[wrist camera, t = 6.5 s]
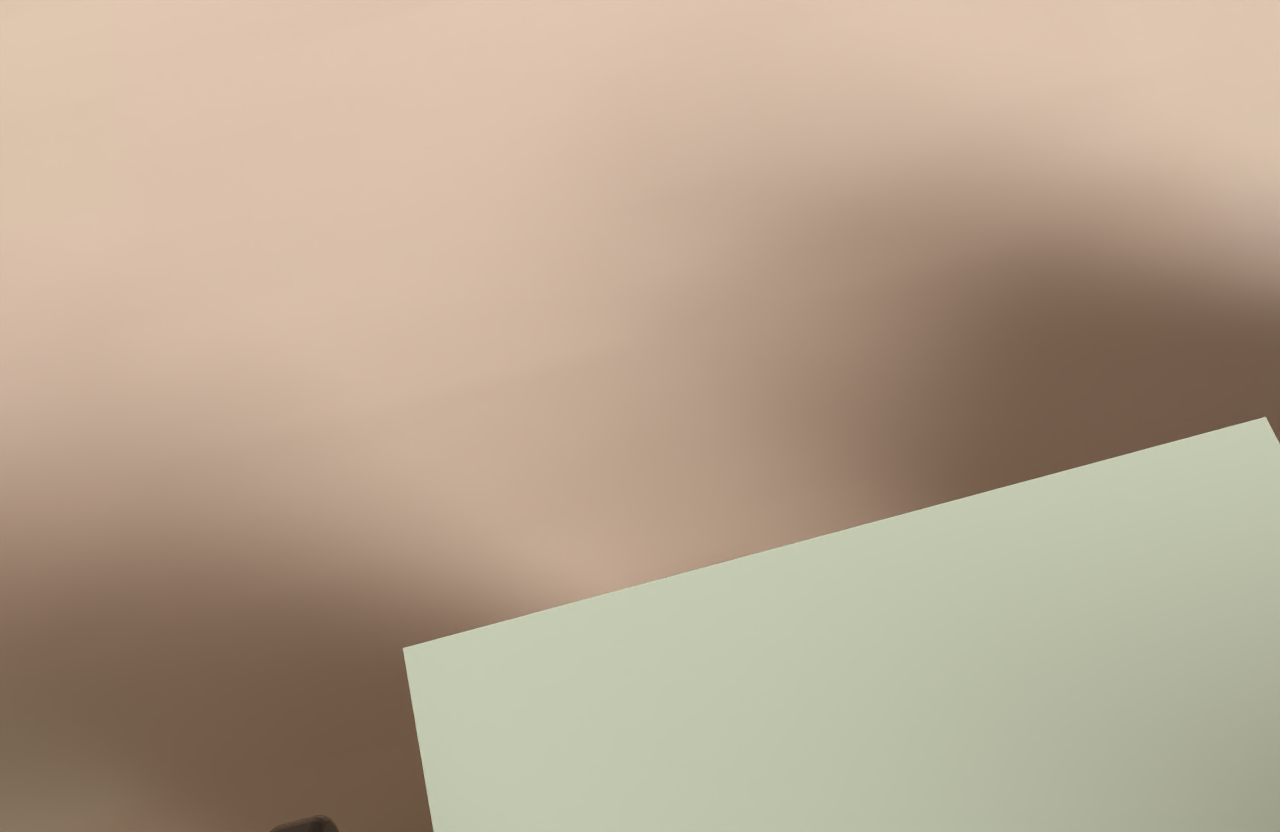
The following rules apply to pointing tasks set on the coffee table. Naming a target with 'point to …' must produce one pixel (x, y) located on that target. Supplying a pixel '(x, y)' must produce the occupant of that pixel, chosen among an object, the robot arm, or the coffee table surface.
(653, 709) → the sage block
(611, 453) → the coffee table surface
